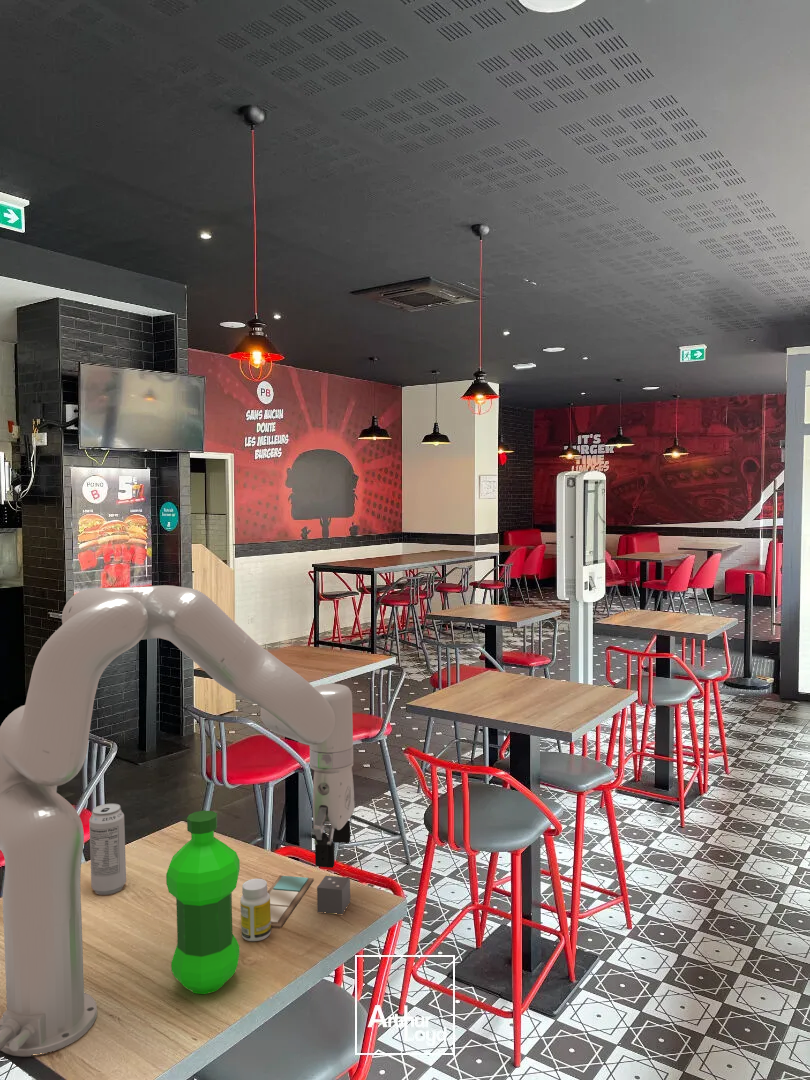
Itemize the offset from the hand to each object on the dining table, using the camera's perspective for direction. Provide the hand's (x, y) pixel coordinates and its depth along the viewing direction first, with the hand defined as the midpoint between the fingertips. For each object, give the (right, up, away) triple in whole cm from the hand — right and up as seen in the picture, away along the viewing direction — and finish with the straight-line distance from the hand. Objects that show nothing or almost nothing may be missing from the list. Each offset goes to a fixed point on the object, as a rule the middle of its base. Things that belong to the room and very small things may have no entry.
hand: (333, 853), depth 139 cm
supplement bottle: (-12, -10, -8) cm, 18 cm away
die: (0, -9, 0) cm, 9 cm away
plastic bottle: (-17, -11, -22) cm, 29 cm away
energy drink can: (-42, -10, +8) cm, 44 cm away
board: (-10, -9, +2) cm, 14 cm away
